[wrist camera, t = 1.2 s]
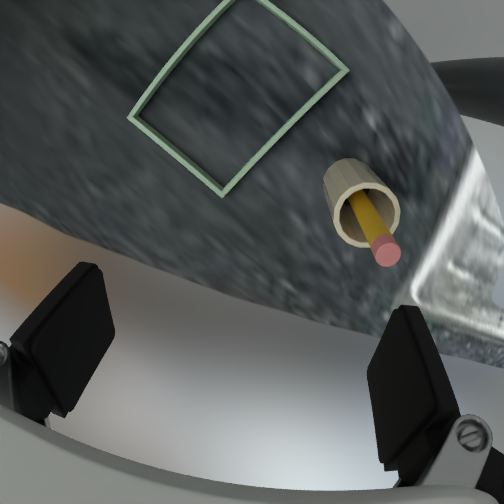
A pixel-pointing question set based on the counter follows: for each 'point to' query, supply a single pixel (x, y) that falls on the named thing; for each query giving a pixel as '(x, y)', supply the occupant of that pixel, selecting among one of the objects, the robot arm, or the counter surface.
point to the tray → (221, 191)
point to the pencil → (375, 230)
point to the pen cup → (351, 180)
